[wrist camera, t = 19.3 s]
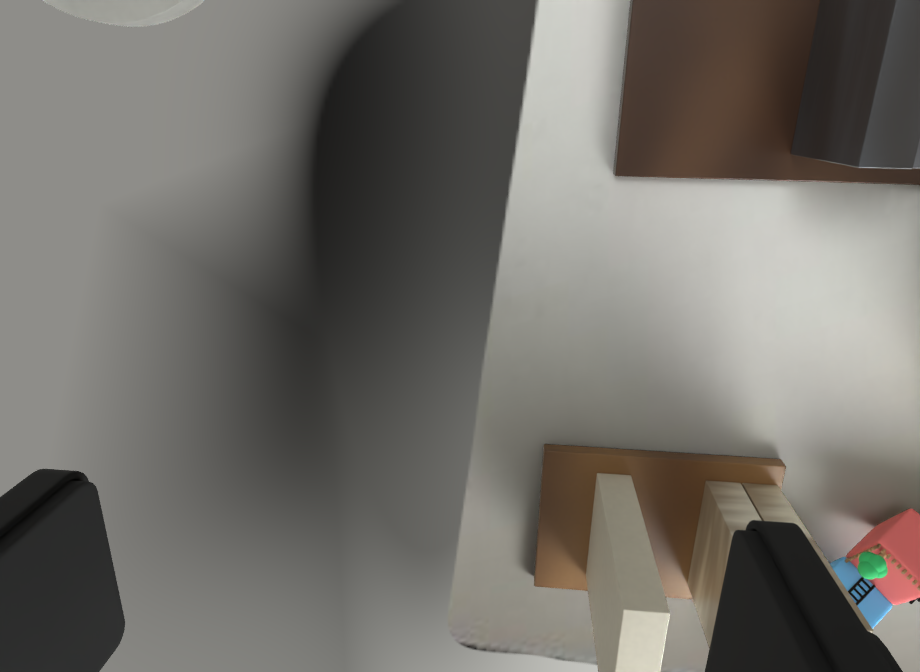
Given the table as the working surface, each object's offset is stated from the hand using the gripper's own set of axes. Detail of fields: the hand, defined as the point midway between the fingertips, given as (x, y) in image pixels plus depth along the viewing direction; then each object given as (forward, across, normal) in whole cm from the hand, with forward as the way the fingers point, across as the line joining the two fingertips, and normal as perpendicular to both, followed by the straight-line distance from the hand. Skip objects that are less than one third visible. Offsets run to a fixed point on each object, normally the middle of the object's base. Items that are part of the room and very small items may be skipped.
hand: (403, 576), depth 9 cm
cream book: (+32, -9, +22) cm, 40 cm away
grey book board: (+33, -16, -8) cm, 38 cm away
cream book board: (+33, -12, +22) cm, 42 cm away
